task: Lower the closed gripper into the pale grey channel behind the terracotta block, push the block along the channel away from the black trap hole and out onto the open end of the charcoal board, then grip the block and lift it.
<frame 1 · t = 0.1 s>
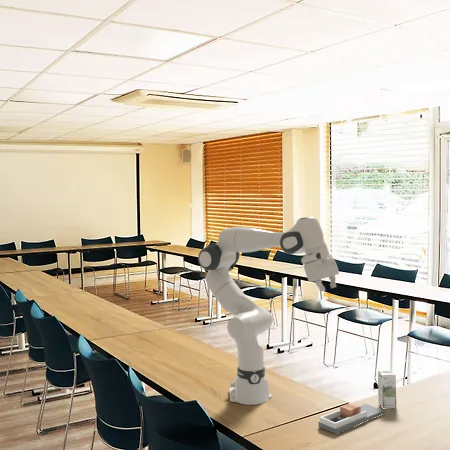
hand: (328, 289, 224), 50 cm above the table, tool tilted 20°, fingers open, 8 cm apart
block: (350, 416, 220), point 2 cm above the table, touching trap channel
syrup box: (387, 407, 234), on the table
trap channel: (352, 421, 221), on the table
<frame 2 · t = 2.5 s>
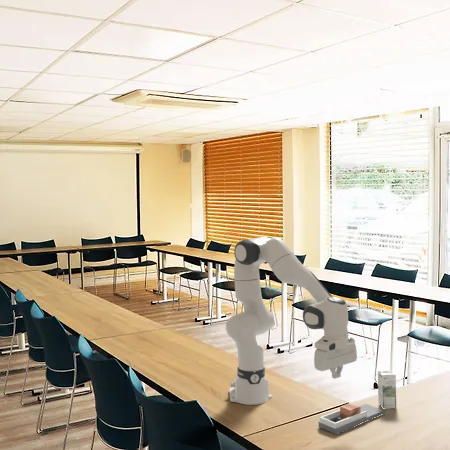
hand: (336, 377, 214), 19 cm above the table, tool pointing down, fingers closed
nothing on the table moved.
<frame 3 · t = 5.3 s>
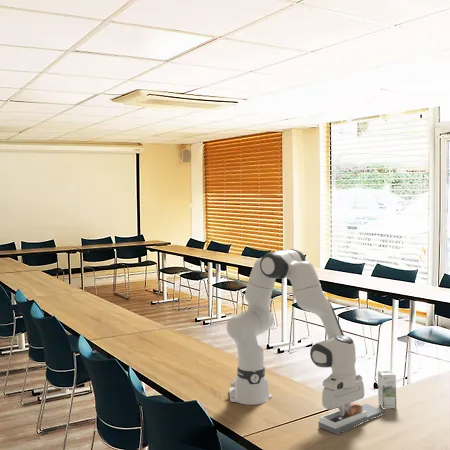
hand: (344, 414, 217), 4 cm above the table, tool pointing down, fingers closed
block: (352, 416, 220), point 2 cm above the table, touching gripper, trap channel
everything else where it was.
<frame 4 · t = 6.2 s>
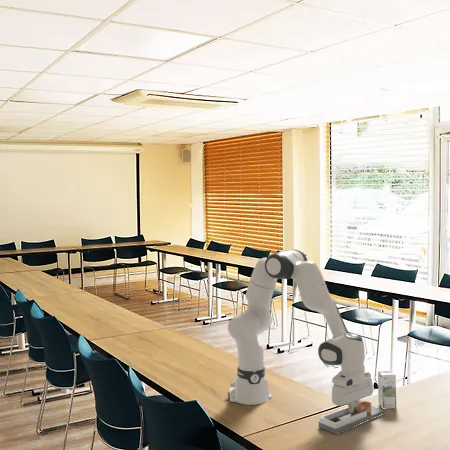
hand: (353, 411, 220), 4 cm above the table, tool pointing down, fingers closed
block: (361, 412, 223), point 2 cm above the table, touching gripper, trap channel
everything else where it was.
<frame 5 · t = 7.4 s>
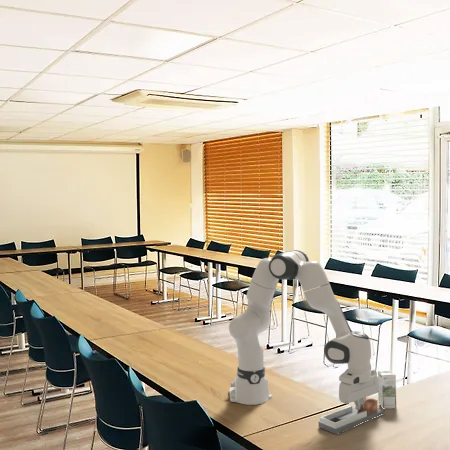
hand: (359, 409, 223), 4 cm above the table, tool pointing down, fingers closed
block: (367, 410, 226), point 2 cm above the table, touching gripper, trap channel
everything else where it was.
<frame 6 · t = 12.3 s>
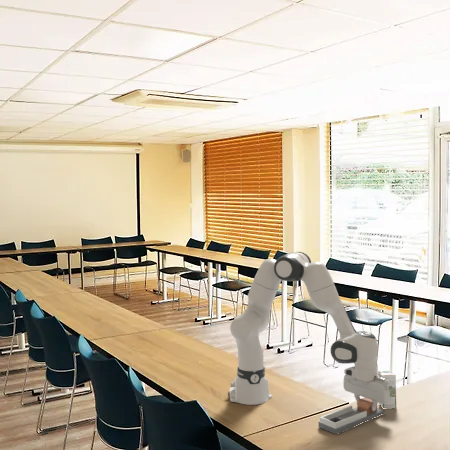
hand: (366, 407, 226), 3 cm above the table, tool pointing down, fingers closed on block, 5 cm apart
block: (367, 410, 226), point 2 cm above the table, touching gripper, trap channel
everything else where it was.
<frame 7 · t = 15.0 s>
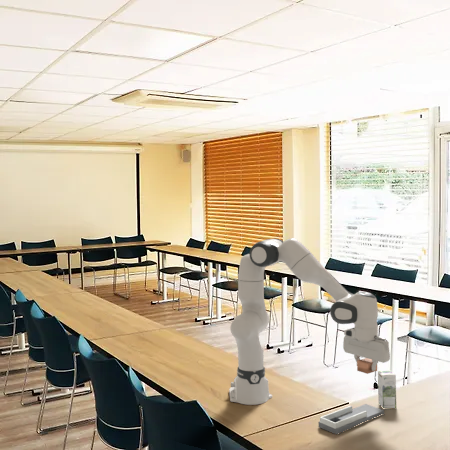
hand: (366, 368, 225), 19 cm above the table, tool pointing down, fingers closed on block, 5 cm apart
block: (367, 370, 225), point 18 cm above the table, touching gripper
everything else where it was.
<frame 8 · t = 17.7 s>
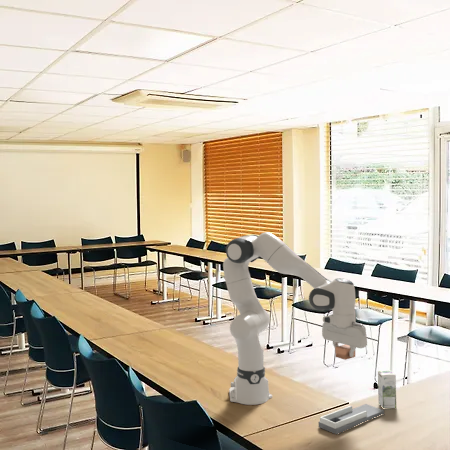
hand: (344, 354, 226), 24 cm above the table, tool pointing down, fingers closed on block, 5 cm apart
block: (345, 356, 226), point 23 cm above the table, touching gripper
everything else where it was.
at the end: the gripper is holding block; block point 23.0 cm above the table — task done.
